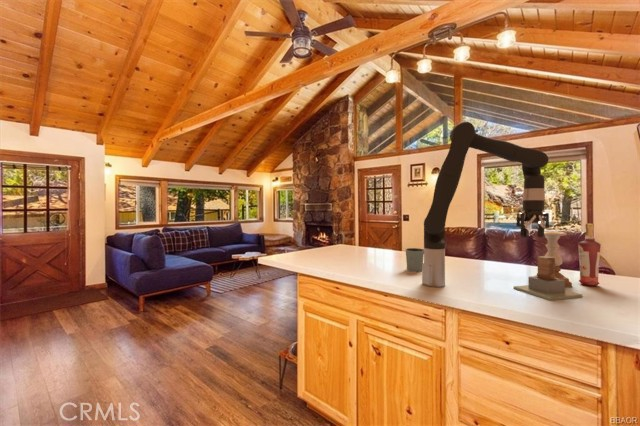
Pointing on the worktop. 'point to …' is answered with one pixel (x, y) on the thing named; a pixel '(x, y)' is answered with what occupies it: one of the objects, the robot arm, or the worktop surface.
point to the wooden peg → (546, 268)
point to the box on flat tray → (547, 289)
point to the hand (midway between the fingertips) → (532, 237)
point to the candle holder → (555, 253)
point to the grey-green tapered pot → (414, 259)
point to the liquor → (589, 258)
